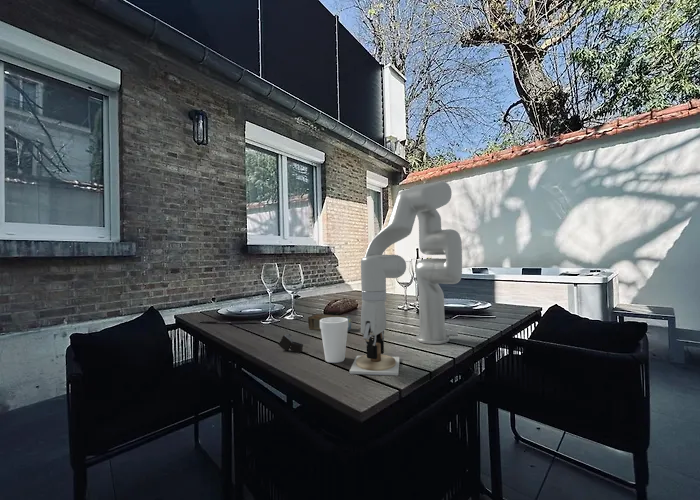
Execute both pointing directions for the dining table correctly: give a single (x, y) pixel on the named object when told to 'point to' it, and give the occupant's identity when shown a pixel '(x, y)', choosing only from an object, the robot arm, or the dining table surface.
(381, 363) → the lid
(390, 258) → the robot arm
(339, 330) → the foam cup
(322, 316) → the beverage carton
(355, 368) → the mat
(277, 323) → the dining table surface
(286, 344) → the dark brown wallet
